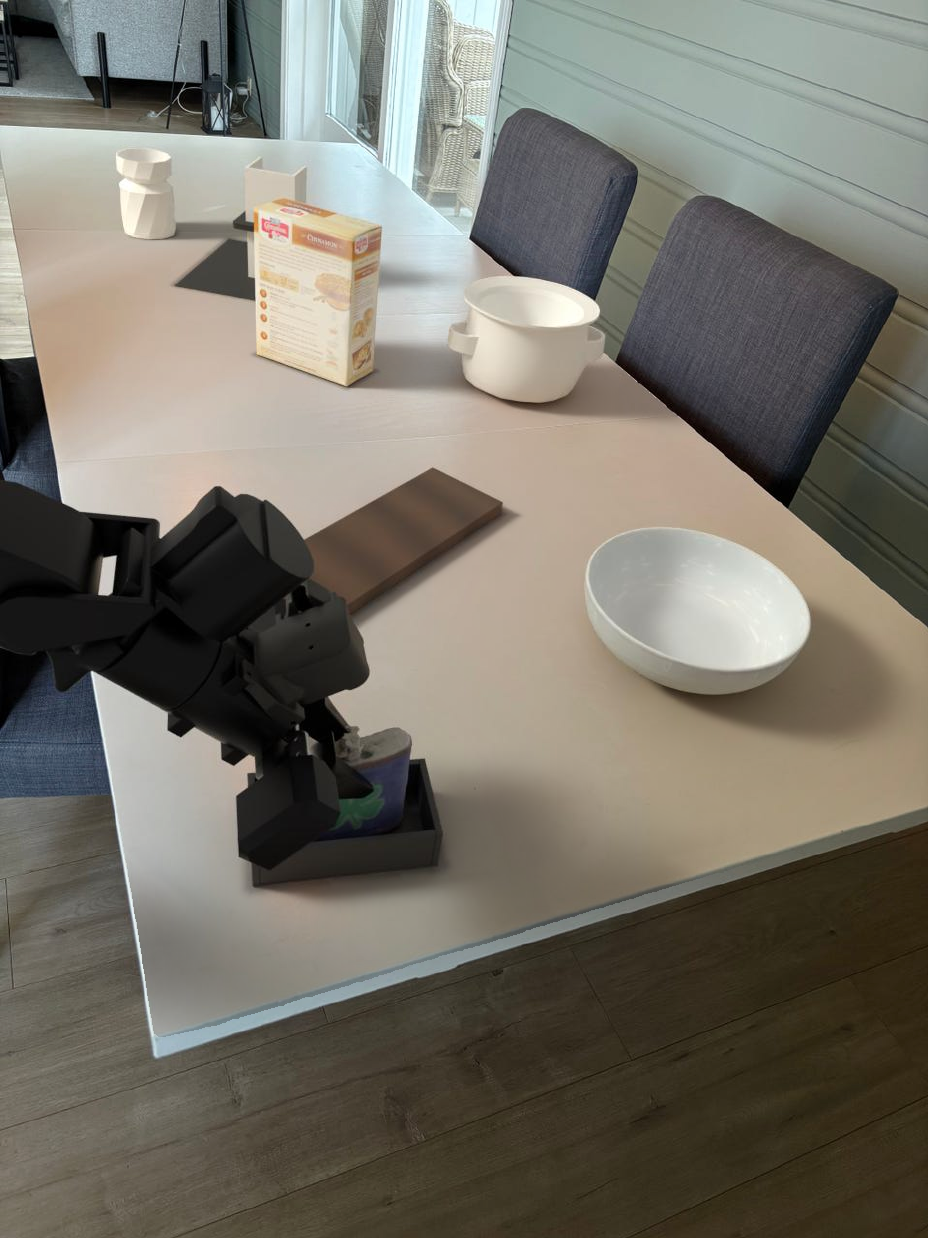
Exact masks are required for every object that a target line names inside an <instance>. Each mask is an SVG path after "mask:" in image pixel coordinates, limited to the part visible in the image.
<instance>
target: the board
mask: <svg viewBox="0 0 928 1238" xmlns="http://www.w3.org/2000/svg"><path fill="white" fill-rule="evenodd" d="M503 503H504V502H503V501H502V500H500V499H498V498H495V497H493V496H491V495H489V494H487V493H486V492H484V491H482V490H480V489H477V488H475V487H473V486H472V485H469V484H467V483H465V482H463V481H462V480H459V479H457V478H455V477H453V476H452V475H449V474H447V473H446V472H444V471H441V470H439V469H438V468H435V467H434V466H433V467H430V468H428V469H427V470H425V471H423V472H421V473H419V474H418V475H416V476H415V477H413V478H411V479H409V480H407V481H405V482H404V483H402V484H401V485H398V486H397V487H395V488H393V489H391V490H390V491H388V492H386V493H385V494H382V495H381V496H379V497H377V498H375V499H374V500H372V501H370V502H368V503H366V504H365V505H363V506H362V507H360V508H358V509H356V510H354V511H352V512H351V513H349V514H347V515H345V516H344V517H342V518H340V519H338V520H337V521H335V522H333V523H331V524H330V525H327V526H326V527H324V528H322V529H320V530H319V531H317V532H315V533H314V534H312V535H310V536H308V537H306V538H303V539H304V541H305V542H306V544H307V546H308V548H309V550H310V552H311V555H312V558H313V561H314V573H313V574H312V575H311V577H309V578H310V579H311V580H313V581H315V582H317V583H318V584H320V585H322V586H323V587H325V588H327V589H328V590H329V591H330V593H332V592H336V594H337V596H338V597H339V596H340V597H344V598H345V599H346V601H347V606H348V611H349V614H350V615H352V614H353V613H355V612H357V611H358V610H360V609H361V608H363V607H364V606H365V605H367V604H368V603H370V602H371V601H373V600H374V599H376V598H377V597H379V596H380V595H382V594H384V593H385V592H386V591H387V590H389V589H391V588H392V587H394V586H395V585H397V584H398V583H400V582H402V580H404V579H406V578H407V577H408V576H410V575H411V574H413V573H414V572H416V571H417V570H419V569H421V568H422V567H424V566H425V565H427V564H428V563H429V562H431V561H433V560H434V559H436V558H437V557H439V556H440V555H441V554H443V553H445V551H447V550H450V549H451V548H452V547H453V546H454V545H456V544H457V543H459V542H460V541H462V540H463V539H465V538H467V537H468V536H469V535H471V534H473V533H474V532H475V531H477V530H479V529H481V527H483V526H485V525H486V524H487V523H489V522H490V521H492V520H493V519H495V518H496V517H498V516H500V515H501V514H502V509H503ZM283 599H286V597H284V598H283Z"/></svg>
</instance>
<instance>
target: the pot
mask: <svg viewBox="0 0 928 1238" xmlns="http://www.w3.org/2000/svg"><path fill="white" fill-rule="evenodd" d="M463 298H464V300H465V302H466V303H467V304H468V305H469V309H468V312H467V316H466V320H462V321H460V322H454V323H451V324H450V326H449V329H448V335H447V341H446V346H447V347H449V349H450V350H452V351H454V352H457V353H459V354H461V365H462V372H463V375H464V378H465V379H466V381H467V382H468V383H469V384H471V385H472V386H474V387H475V388H476V389H479V390H481V391H482V392H485V393H486V394H489V395H492V396H495V397H497V398H499V399H502V400H508V401H509V400H510V401H515V402H520V403H521V402H523V403H535V404H536V403H537V404H540V403H548V402H553V401H556V400H559V399H561V398H564V397H567V396H568V395H569V393H571V391H572V390H573V389H574V388H575V386H576V384H577V383H578V380H579V378H580V377H581V375H582V373H583V371H584V370H585V369H586V366H587V364H591V363H592V364H593V363H597V362H598V361H600V360H601V358H602V357H603V355H604V351H605V345H606V337H607V336H606V334H605V333H604V332H603V331H602V330H600V329H598V328H596V327H594V326H591V324H594V323H595V322H596V321H597V320H598V319H599V317H600V313H601V309H600V306H599V304H598V303H596V301H595V300H594V299H592V298H591V297H589V296H588V295H586V294H585V293H583V292H581V291H579V290H577V289H574V288H572V287H570V286H567V285H564V284H560V283H557V282H553V281H549V280H546V279H545V280H544V279H540V278H535V277H527V276H515V275H512V276H511V275H500V276H499V275H498V276H497V275H496V276H489V277H484V278H480V279H477V280H474V281H473V282H471V283H469V284H467V285H466V286H465V288H464V291H463Z"/></svg>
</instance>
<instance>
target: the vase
mask: <svg viewBox="0 0 928 1238" xmlns="http://www.w3.org/2000/svg"><path fill="white" fill-rule="evenodd" d="M115 162H116V163H115V164H116V171H117V172H118V173H119V174H120V175H121V176H122V177H124V178H123V179H121V181H120V182H118V187H119V192H120V193H119V197H120V198H119V200H120V214H121V220H122V227H123V230H124V233H125V234H126V235H129V236H130V237H133V238H137V239H143V240H164V239H167V238H171V237H173V236H174V235H175V234H176V229H177V225H176V218H175V193H174V192H175V191H174V186H173V185H172V184H171V183H170V182H169V181H168V179H169V178H170V177H171V176H173V175H172V173H173V172H172V171H173V169H172V167H173V165H172V156H171V155H170V154H169V153H167V152H164V151H162V150H159V149H155V148H154V149H153V148H144V147H131V148H130V147H129V148H128V147H127V148H124V149H119V150H116V153H115Z"/></svg>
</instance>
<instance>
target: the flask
mask: <svg viewBox="0 0 928 1238" xmlns="http://www.w3.org/2000/svg"><path fill="white" fill-rule="evenodd" d="M345 728H346V729H350V733H348V734H347V733H344V737H342V738H341V739H340V740H338V741H336V742H335V748H336V754H337V756H338V757H339V758H340V759H341V760H343V761H344V762H345V763H347V764H348V765H349V766H351V767H352V768H353V769H355V770H356V771H357V772H358V773H360V774H361V775H362V776H364V777H365V778H366V779H367V780H368V781H369V782H370V783H371V784H372V785H373V787H374V791H373V792H372V793H371V794H369V795H368V796H367V797H365V798H360V799H339V804H340V811H341V814H340V816H339V818H338V820H337V822H336V824H335V826H334V827H333V828H331V829H330V830H328V831H327V832H325V833H324V834H323V835H321V836H320V837H318V838H317V839H315V840H314V841H312V842H319V841H329V840H338V839H348V838H358V837H368V836H377V835H387V834H389V833H391V832H392V831H394V830H395V829H397V827H398V826H400V823H401V821H402V819H403V811H404V800H405V792H406V785H407V779H408V768H409V761H410V760H411V753H412V746H413V740H412V736H411V734H409V733H408V732H407V731H406V730H403V729H401V728H400V727H398V726H397V727H389V728H386V729H384V730H383V729H382V730H381V731H377V732H374V733H372V734H369V735H366V736H365V735H364V736H360V735H359V734H358V733H359V731H360V727H359V726H358V725H350V724H348V725H347V726H346V727H345Z"/></svg>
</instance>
